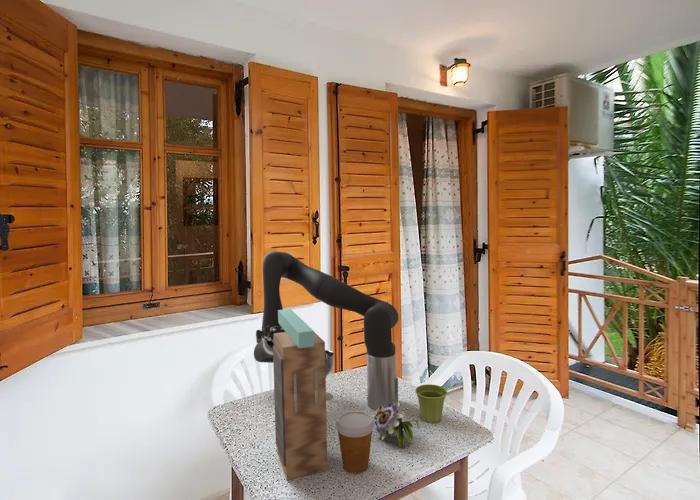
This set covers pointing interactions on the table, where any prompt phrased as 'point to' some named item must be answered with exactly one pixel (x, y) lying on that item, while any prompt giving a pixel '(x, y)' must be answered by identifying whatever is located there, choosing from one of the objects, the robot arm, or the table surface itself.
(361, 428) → the disposable coffee cup
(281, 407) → the tall wooden pillar block
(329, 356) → the wine glass
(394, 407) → the passion flower
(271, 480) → the table surface
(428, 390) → the plant pot
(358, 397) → the table surface
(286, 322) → the rail
